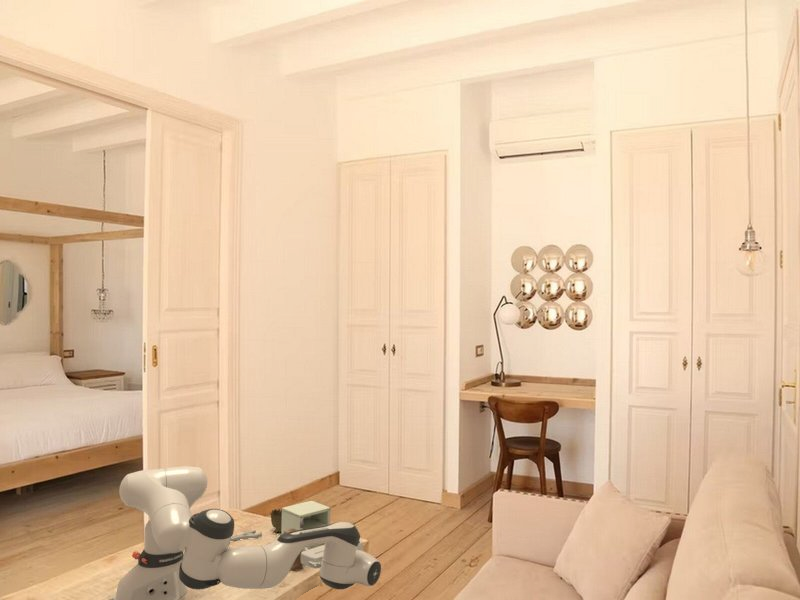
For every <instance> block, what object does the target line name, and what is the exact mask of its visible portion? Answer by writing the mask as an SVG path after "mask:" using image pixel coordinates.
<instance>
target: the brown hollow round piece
mask: <svg viewBox="0 0 800 600" xmlns="http://www.w3.org/2000/svg"><path fill="white" fill-rule="evenodd" d="M270 521H271V524H272V527H273V528H274V531H275V532H276V533H278V532H280V533H281V527H282V508H281V509H280V508H277V509H276V508H275V509H273V510H272V509H271V512H270Z"/></svg>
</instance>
